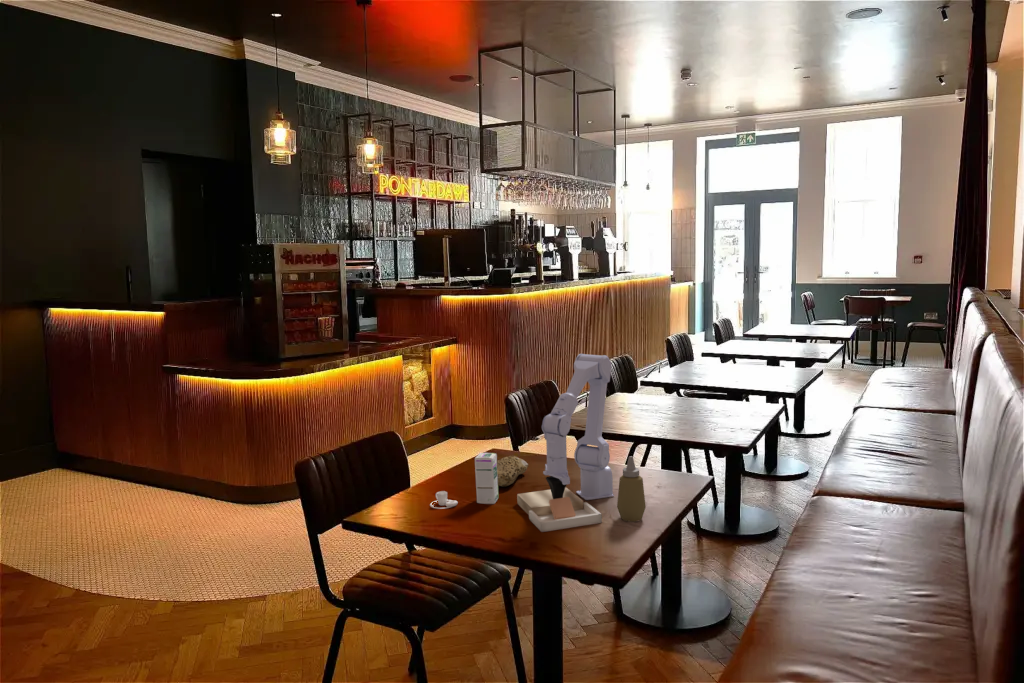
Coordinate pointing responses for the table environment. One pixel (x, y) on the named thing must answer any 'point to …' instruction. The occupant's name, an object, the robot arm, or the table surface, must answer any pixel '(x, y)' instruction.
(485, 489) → the syrup box
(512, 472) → the sponge
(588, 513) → the tray
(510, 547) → the table surface
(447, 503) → the teacup and saucer
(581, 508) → the platform
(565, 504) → the tile
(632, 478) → the squeeze bottle
